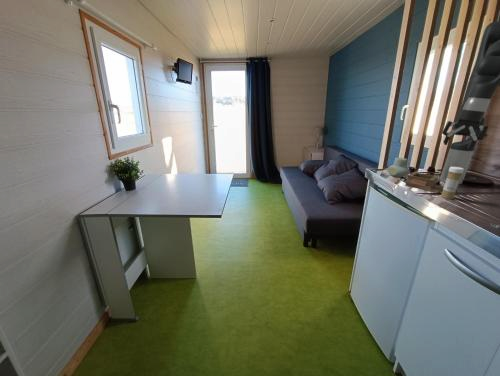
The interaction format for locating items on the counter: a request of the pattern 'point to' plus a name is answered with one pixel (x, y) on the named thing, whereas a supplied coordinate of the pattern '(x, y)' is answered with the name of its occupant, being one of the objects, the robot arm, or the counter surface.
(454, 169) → the sprinkles bottle
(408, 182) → the spice socket
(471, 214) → the counter surface
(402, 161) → the air freshener
